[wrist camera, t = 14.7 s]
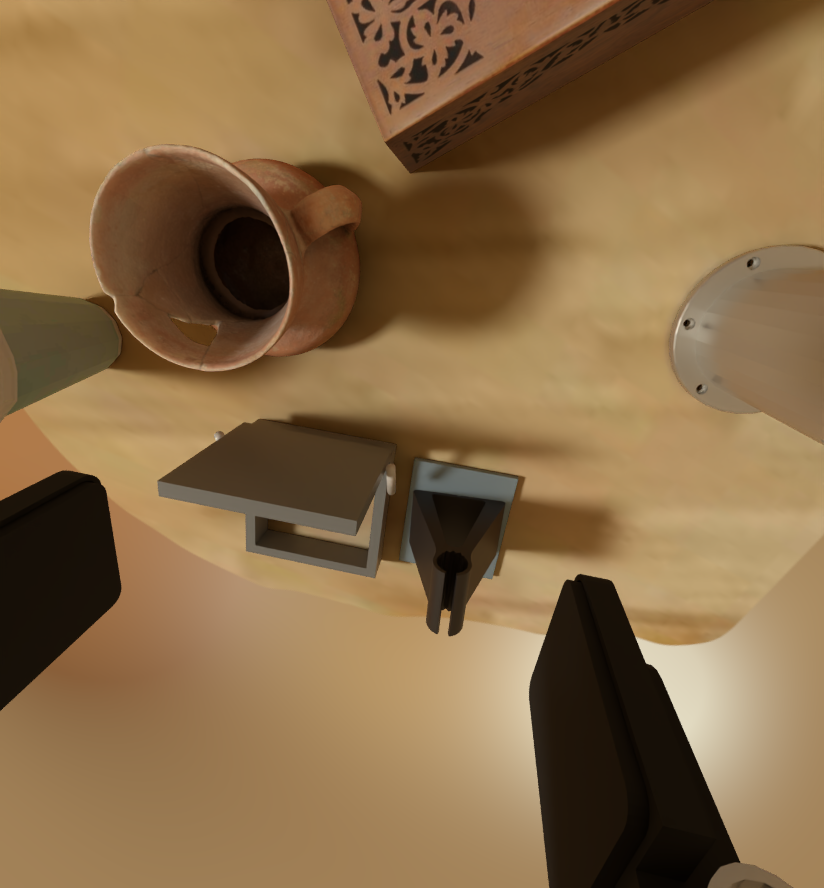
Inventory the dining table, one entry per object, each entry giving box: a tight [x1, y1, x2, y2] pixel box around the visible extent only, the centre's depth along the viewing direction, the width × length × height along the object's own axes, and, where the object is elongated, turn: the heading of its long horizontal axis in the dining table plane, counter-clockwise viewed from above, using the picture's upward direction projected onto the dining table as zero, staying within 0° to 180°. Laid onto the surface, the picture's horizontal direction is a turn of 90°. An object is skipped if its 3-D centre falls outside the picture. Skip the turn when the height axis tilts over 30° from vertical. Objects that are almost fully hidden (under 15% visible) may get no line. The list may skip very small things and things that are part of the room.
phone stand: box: [409, 490, 505, 636], centre depth 39 cm, size 9×6×12 cm, turn 85°
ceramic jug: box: [89, 144, 362, 371], centre depth 32 cm, size 18×14×14 cm
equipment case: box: [157, 419, 396, 578], centre depth 39 cm, size 16×15×15 cm
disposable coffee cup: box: [0, 289, 122, 422], centre depth 36 cm, size 11×11×15 cm
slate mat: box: [399, 457, 518, 579], centre depth 45 cm, size 10×12×1 cm
